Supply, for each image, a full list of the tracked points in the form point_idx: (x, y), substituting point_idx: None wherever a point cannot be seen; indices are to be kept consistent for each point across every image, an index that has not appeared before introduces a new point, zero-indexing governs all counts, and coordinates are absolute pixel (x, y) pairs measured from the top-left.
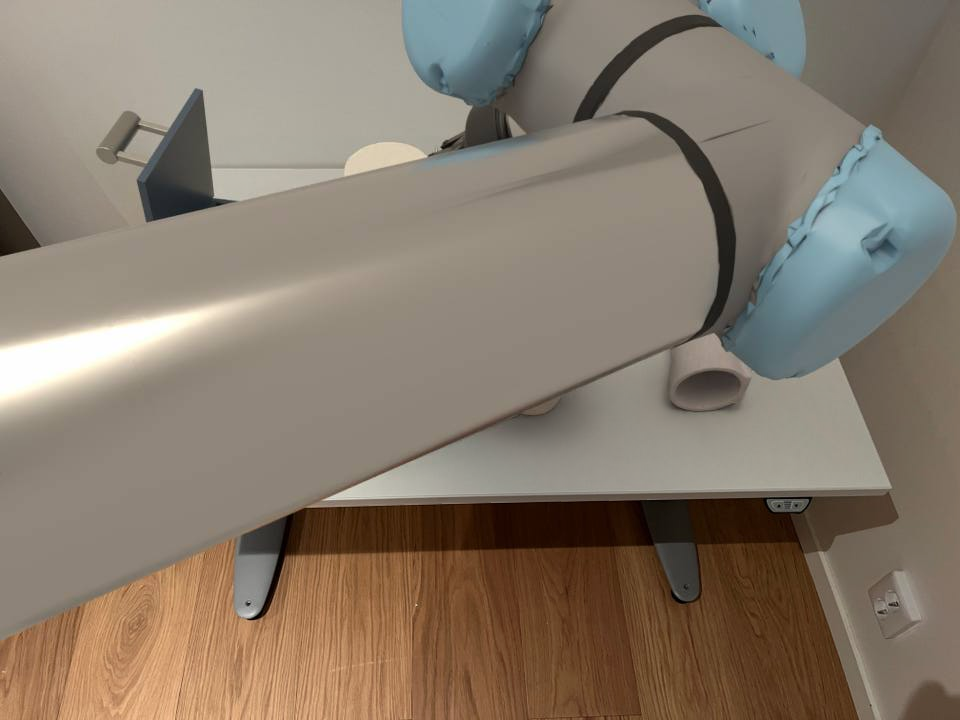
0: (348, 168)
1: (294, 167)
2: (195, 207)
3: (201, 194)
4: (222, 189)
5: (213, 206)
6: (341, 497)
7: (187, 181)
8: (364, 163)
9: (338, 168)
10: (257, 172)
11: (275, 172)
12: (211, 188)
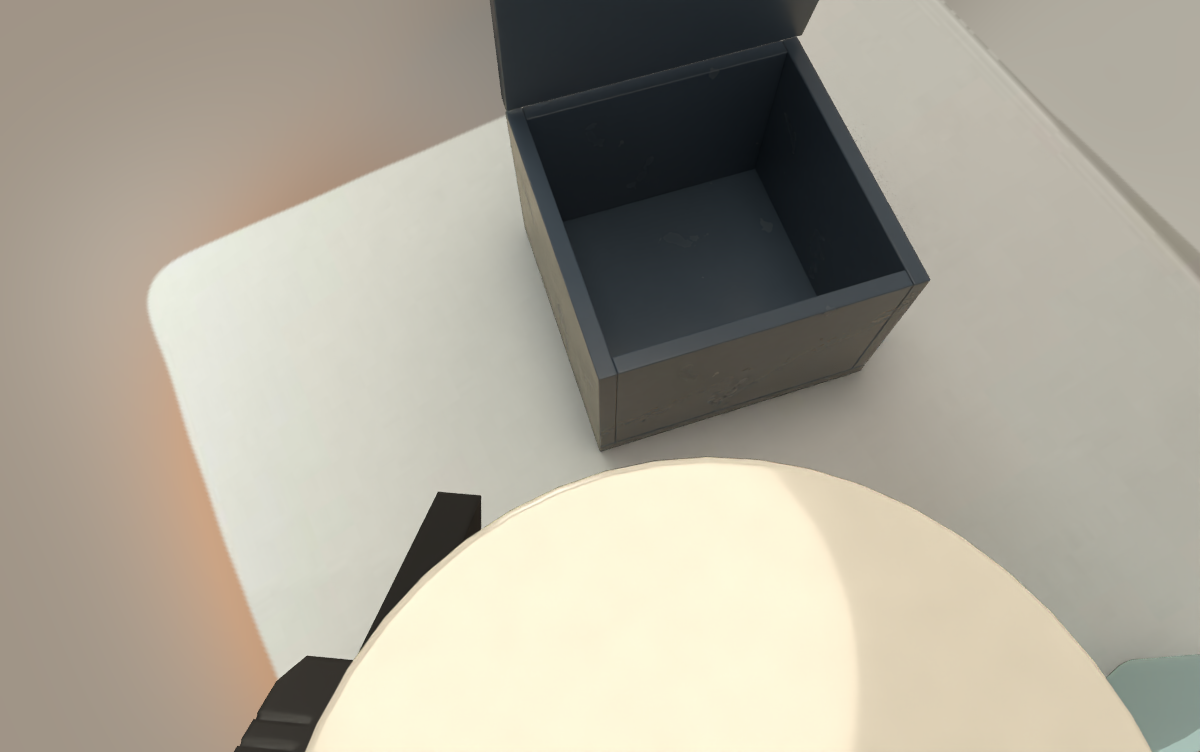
0: (554, 530)
1: (1061, 124)
2: (708, 21)
3: (751, 6)
4: (901, 46)
5: (774, 53)
6: None
7: None
8: (685, 627)
9: (1133, 205)
10: (991, 72)
11: (1018, 101)
12: (800, 15)
